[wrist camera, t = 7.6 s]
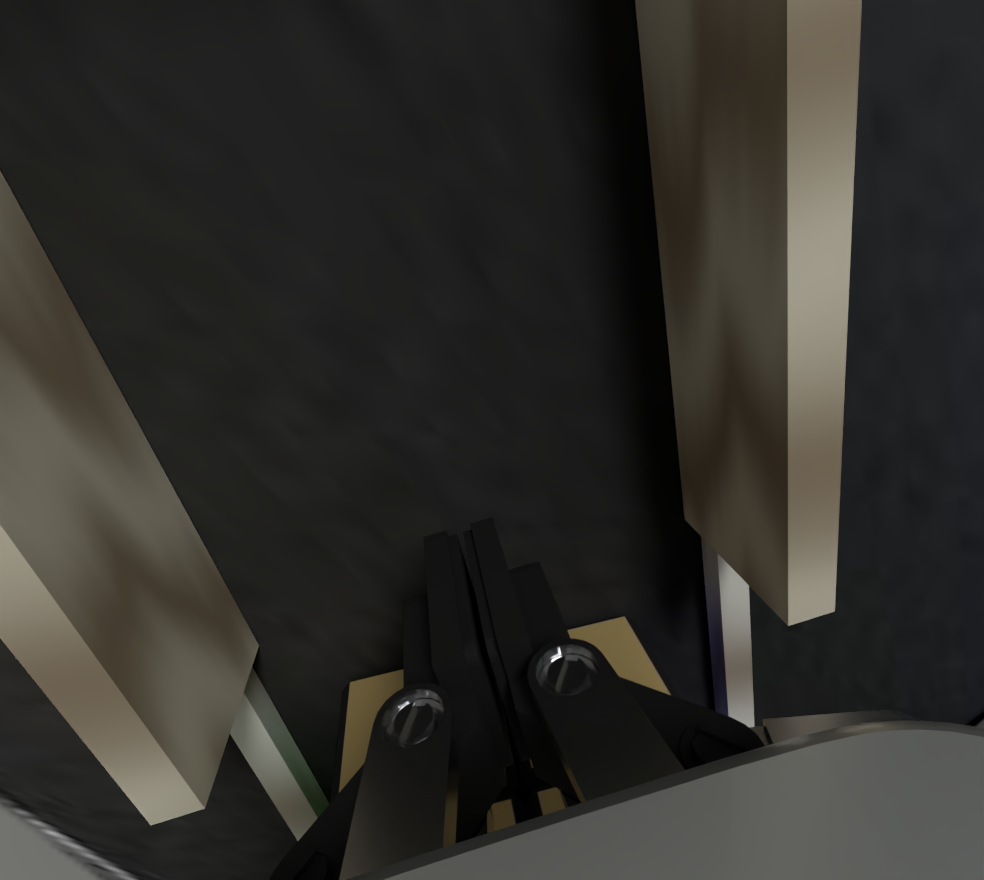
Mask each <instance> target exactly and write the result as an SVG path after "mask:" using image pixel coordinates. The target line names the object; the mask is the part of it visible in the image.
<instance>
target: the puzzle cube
mask: <svg viewBox="0 0 984 880" xmlns="http://www.w3.org/2000/svg"><path fill="white" fill-rule="evenodd" d="M567 631H568V633H569V636H570V638H575V639H580V640H585V641H587V642H589V643H591V644H593V645H595V646H596V647H597V648H598V649H599V650H600V651H601V652H602V653H603V655H604V656H605V657H606V659H607V660H608V662H609V663H610V664H611V666H612V667H613V669H614V670H615V672H616V673H617V674H618V676H619V677H622V678H625V679H628V680H630V681H633V682H636V683H638V684H641V685H644V686H647V687H649V688H652V689H655V690H658V691H660V692H663V693H666V694H669V695H671V696H674V697H677V698H680V696H679V695H678V693H677V691H676V690H675V688H674V686H673V685H672V683H671V681H670V680H669V678H668V676H667V675H666V673H665V671H664V670H663V668H662V666H661V665H660V663H659V662H658V660H657V658H656V657H655V655H654V653H653V652H652V650H651V648H650V647H649V645H648V643H647V642H646V640H645V638H644V637H643V635H642V633H641V632H640V630H639V628H638V627H637V625H636V623H635V622H634V621H633V620H631V619H630V618H628V617H626V616H622V617H618V618H614V619H610V620H606V621H601V622H597V623H593V624H589V625H585V626H581V627H577V628H573V629H569V630H567ZM497 685H498V684H497ZM402 688H403V669H401V670H397V671H393V672H389V673H385V674H381V675H377V676H373V677H369V678H364V679H360V680H356V681H352V682H350V683H349V684H348V685H347V687H346V688H345V689H344V690H343V694H342V702H341V711H340V720H339V728H338V737H337V746H336V755H335V763H334V772H333V781H332V790H331V798H330V803H331V802H332V801H333V799H334V798H335V797H336V796H337V795H338V793H339V792H340V791H341V790H342V789H343V788H344V786H345V785H346V784H347V783H348V782H349V780H350V779H351V778H352V777H353V776H354V775H355V773H356V772H357V771H358V770H359V769H360V767H361V766H362V765H363V764H364V763H365V759H366V754H367V750H368V745H369V740H370V736H371V731H372V727H373V723H374V720H375V717H376V715H377V712H378V711H379V709H380V708H381V706H382V705H383V704H384V702H385V701H386V700H387V699H388V698H389V697H391V696H392V695H393V694H394V693H395V692H397V691H399V690H400V689H402ZM498 689H499V687H498ZM499 694H500V690H499ZM500 699H501V704H502V709H503V714H504V718H505V723H506V728H507V733H508V738H509V743H510V747H511V752H512V757H513V764H512V765H509V766H506V767H504V769H505V774H506V780H507V785H508V786H505V787H503V788H502V790H501V792H500V793H499V795H498V796H497V798H496V800H495V801H494V803H493V805H492V806H491V809H492V812H493V818H494V831H496V830H499V829H502V828H505V827H509V826H512V825H515V824H518V823H521V822H524V821H527V820H530V819H533V818H537V817H540V816H543V815H546V814H549V813H552V812H555V811H558V810H561V809H565V806H564V804H563V801H562V798H561V795H560V791H559V789H558V788H556V787H554V786H552V785H550V784H548V783H547V782H545V781H543V780H541V779H539V778H537V777H536V775H535V772H534V768H533V765H532V762H531V759H528V760H525V761H522V760H521V757H520V754H519V751H518V747H517V744H516V741H515V738H514V735H513V732H512V728H511V725H510V722H509V719H508V716H507V713H506V709H505V706H504V703H503V700H502V697H501V694H500ZM680 699H681V698H680Z"/></svg>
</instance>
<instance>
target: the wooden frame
mask: <svg viewBox="0 0 984 880" xmlns="http://www.w3.org/2000/svg"><path fill="white" fill-rule="evenodd" d="M635 5H636V15H637V25H638V36H639V46H640V57H641V67H642V78H643V88H644V99H645V109H646V120H647V130H648V140H649V151H650V161H651V172H652V182H653V193H654V203H655V214H656V224H657V235H658V245H659V256H660V266H661V276H662V287H663V297H664V308H665V318H666V329H667V339H668V350H669V360H670V371H671V381H672V392H673V402H674V412H675V423H676V433H677V444H678V454H679V465H680V475H681V486H682V496H683V507H684V517H685V520H686V521H687V522H688V523H689V524H690V525H691V526H692V527H693V529H694V530H695V531H696V532H697V533H698V534H699V535H700V536H701V544H702V556H703V568H704V580H705V592H706V604H707V617H708V629H709V641H710V653H711V665H712V677H713V690H714V702H715V712H718V713H721V714H724V715H726V716H729V717H732V718H733V719H735V720H737V721H739V722H741V723H743V724H745V725H746V726H748V727H754V704H753V679H752V654H751V629H750V603H749V586H750V587H751V588H752V589H753V590H754V591H755V592H756V593H757V594H758V595H759V596H760V597H761V598H762V599H763V600H764V601H765V603H766V604H767V605H768V606H769V607H770V608H771V609H772V610H773V611H774V612H775V613H776V614H777V615H778V616H779V617H780V618H781V619H782V620H783V621H784V622H785V623H786V624H787V625H788V626H790V625H793V624H796V623H799V622H802V621H806V620H809V619H812V618H815V617H818V616H822V615H825V614H828V613H831V612H834V611H835V593H836V571H837V548H838V526H839V503H840V481H841V458H842V435H843V413H844V390H845V368H846V345H847V323H848V300H849V277H850V255H851V232H852V210H853V187H854V165H855V142H856V119H857V97H858V74H859V52H860V29H861V7H862V0H635ZM0 638H1V640H2V641H3V642H4V643H5V645H6V646H7V647H8V648H9V650H10V651H11V652H12V653H13V655H14V656H15V657H16V658H17V659H18V661H19V662H20V663H21V664H22V666H23V667H24V668H25V669H26V671H27V672H28V673H29V674H30V676H31V677H32V678H33V679H34V681H35V682H36V683H37V684H38V686H39V687H40V688H41V689H42V691H43V692H44V693H45V694H46V696H47V697H48V698H49V699H50V701H51V702H52V703H53V704H54V706H55V707H56V708H57V709H58V710H59V712H60V713H61V714H62V715H63V717H64V718H65V719H66V720H67V722H68V723H69V724H70V725H71V727H72V728H73V729H74V730H75V732H76V733H77V734H78V735H79V737H80V738H81V739H82V740H83V742H84V743H85V744H86V745H87V747H88V748H89V749H90V750H91V752H92V753H93V754H94V755H95V757H96V758H97V759H98V760H99V761H100V763H101V764H102V765H103V766H104V768H105V769H106V770H107V771H108V773H109V774H110V775H111V776H112V778H113V779H114V780H115V781H116V783H117V784H118V785H119V786H120V788H121V789H122V790H123V791H124V793H125V794H126V795H127V796H128V798H129V799H130V800H131V801H132V803H133V804H134V805H135V806H136V808H137V809H138V810H139V811H140V812H141V814H142V815H143V816H144V817H145V819H146V820H147V821H148V822H149V824H150V825H154V824H157V823H160V822H163V821H167V820H170V819H173V818H176V817H179V816H183V815H186V814H189V813H192V812H195V811H199V810H202V809H205V806H206V803H207V800H208V797H209V794H210V791H211V788H212V785H213V782H214V779H215V776H216V773H217V770H218V767H219V764H220V761H221V758H222V755H223V752H224V749H225V746H226V743H227V740H228V737H229V734H230V735H231V736H232V738H233V739H234V741H235V742H236V744H237V746H238V747H239V749H240V750H241V752H242V754H243V755H244V757H245V758H246V760H247V761H248V763H249V765H250V766H251V768H252V769H253V771H254V773H255V774H256V776H257V777H258V779H259V780H260V782H261V784H262V785H263V787H264V788H265V790H266V792H267V793H268V795H269V796H270V798H271V799H272V801H273V803H274V804H275V806H276V807H277V809H278V811H279V812H280V814H281V815H282V817H283V818H284V820H285V822H286V823H287V825H288V826H289V828H290V830H291V831H292V833H293V834H294V836H295V837H296V839H297V841H299V840H300V838H301V837H302V836H303V835H304V834H305V832H306V831H307V830H308V829H309V828H310V827H311V825H312V824H313V823H314V822H315V821H316V819H317V818H318V817H319V816H320V815H321V814H322V812H323V811H324V810H325V809H326V808H327V806H328V805H329V802H328V800H327V798H326V797H325V795H324V793H323V791H322V789H321V788H320V786H319V784H318V782H317V781H316V779H315V777H314V775H313V773H312V772H311V770H310V768H309V766H308V765H307V763H306V761H305V759H304V758H303V756H302V754H301V752H300V750H299V749H298V747H297V745H296V743H295V742H294V740H293V738H292V736H291V734H290V733H289V731H288V729H287V727H286V726H285V724H284V722H283V720H282V718H281V717H280V715H279V713H278V711H277V710H276V708H275V706H274V704H273V703H272V701H271V699H270V697H269V695H268V694H267V692H266V690H265V688H264V687H263V685H262V683H261V681H260V679H259V678H258V676H257V674H256V672H255V671H254V669H253V667H252V665H253V662H254V659H255V656H256V653H257V650H258V647H259V645H258V643H257V641H256V639H255V637H254V635H253V634H252V632H251V630H250V628H249V626H248V624H247V622H246V621H245V619H244V617H243V615H242V613H241V611H240V610H239V608H238V606H237V604H236V602H235V600H234V599H233V597H232V595H231V593H230V591H229V589H228V588H227V586H226V584H225V582H224V580H223V578H222V577H221V575H220V573H219V571H218V569H217V567H216V566H215V564H214V562H213V560H212V558H211V556H210V555H209V553H208V551H207V549H206V547H205V545H204V544H203V542H202V540H201V538H200V536H199V534H198V533H197V531H196V529H195V527H194V525H193V523H192V521H191V520H190V518H189V516H188V514H187V512H186V510H185V509H184V507H183V505H182V503H181V501H180V499H179V498H178V496H177V494H176V492H175V490H174V488H173V487H172V485H171V483H170V481H169V479H168V477H167V476H166V474H165V472H164V470H163V468H162V466H161V465H160V463H159V461H158V459H157V457H156V455H155V454H154V452H153V450H152V448H151V446H150V444H149V443H148V441H147V439H146V437H145V435H144V433H143V432H142V430H141V428H140V426H139V424H138V422H137V421H136V419H135V417H134V415H133V413H132V411H131V409H130V408H129V406H128V404H127V402H126V400H125V398H124V397H123V395H122V393H121V391H120V389H119V387H118V386H117V384H116V382H115V380H114V378H113V376H112V375H111V373H110V371H109V369H108V367H107V365H106V364H105V362H104V360H103V358H102V356H101V354H100V353H99V351H98V349H97V347H96V345H95V343H94V342H93V340H92V338H91V336H90V334H89V332H88V331H87V329H86V327H85V325H84V323H83V321H82V320H81V318H80V316H79V314H78V312H77V310H76V308H75V307H74V305H73V303H72V301H71V299H70V297H69V296H68V294H67V292H66V290H65V288H64V286H63V285H62V283H61V281H60V279H59V277H58V275H57V274H56V272H55V270H54V268H53V266H52V264H51V263H50V261H49V259H48V257H47V255H46V253H45V252H44V250H43V248H42V246H41V244H40V242H39V241H38V239H37V237H36V235H35V233H34V231H33V230H32V228H31V226H30V224H29V222H28V220H27V219H26V217H25V215H24V213H23V211H22V209H21V207H20V206H19V204H18V202H17V200H16V198H15V196H14V195H13V193H12V191H11V189H10V187H9V185H8V184H7V182H6V180H5V178H4V176H3V174H2V173H1V171H0Z"/></svg>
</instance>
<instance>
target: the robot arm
mask: <svg viewBox="0 0 984 880" xmlns="http://www.w3.org/2000/svg"><path fill="white" fill-rule="evenodd" d="M470 525H471V529H472V530H469V531H465V532H463V534H464V539H465V544H466V549H467V554H468V559H469V564H470V569H471V574H472V579H473V584H474V588H473V585H472V582H471V579H470V576H469V572H468V569H467V566H466V563H465V559H464V556H463V553H462V550H461V546H460V543H459V540H458V537H457V535H456V534H455V535H451V536H448V534H447V531H443V532H440V533H436V534H433V535H429V536H426V537H424V551H425V566H426V581H427V594H426V595H423V596H419V597H416V598H412V599H409V600H406V601H404V606H403V688H402V689H400V690H399V691H397V692H395V693H394V694H393V695H392V696H391V697H389V698H388V699H387V700H386V701H385V702H384V704H383V705H382V706H381V708H380V709H379V711H378V712H377V715H376V717H375V720H374V723H373V727H372V731H371V736H370V740H369V745H368V750H367V754H366V759H365V763H364V764H363V765H362V766H361V767H360V769H359V770H358V771H357V772H356V773H355V775H354V776H353V777H352V778H351V779H350V780H349V782H348V783H347V784H346V785H345V786H344V788H343V789H342V790H341V791H340V792H339V793H338V795H337V796H336V797H335V798H334V799H333V801H332V802H331V803H330V804H329V805H328V806H327V808H326V809H325V810H324V811H323V812H322V814H321V815H320V816H319V817H318V818H317V819H316V821H315V822H314V823H313V824H312V825H311V827H310V828H309V829H308V830H307V831H306V832H305V834H304V835H303V836H302V837H301V838H300V840H299V841H298V842H297V843H296V844H295V845H294V847H293V848H292V849H291V850H290V851H289V852H288V854H287V855H286V856H285V857H284V858H283V860H282V861H281V862H280V864H279V865H278V867H277V868H276V870H275V871H274V872H273V874H272V875H271V877H270V879H269V880H984V718H983V719H982V720H981V721H980V722H979V723H977V724H976V725H975V726H969V725H962V724H955V723H945V722H929V721H920V720H918V719H916V718H915V717H912V716H909V715H906V714H903V713H900V712H897V711H884V710H874V711H861V712H849V713H836V714H824V715H811V716H799V717H786V718H774V719H763V726H760V727H748V726H746V725H745V724H743V723H741V722H739V721H737V720H735V719H733V718H732V717H729V716H726V715H724V714H721V713H718V712H715V711H713V710H710V709H707V708H704V707H702V706H699V705H696V704H693V703H691V702H688V701H685V700H682V699H680V698H677V697H674V696H671V695H669V694H666V693H663V692H660V691H658V690H655V689H652V688H649V687H647V686H644V685H641V684H638V683H636V682H633V681H630V680H628V679H625V678H622V677H619V676H618V674H617V673H616V672H615V670H614V669H613V667H612V666H611V664H610V663H609V662H608V660H607V659H606V657H605V656H604V655H603V653H602V652H601V651H600V650H599V649H598V648H597V647H596V646H595V645H593V644H591V643H589V642H587V641H585V640H580V639H575V638H570V636H569V633H568V631H567V628H566V626H565V623H564V621H563V618H562V616H561V614H560V611H559V609H558V606H557V604H556V601H555V599H554V596H553V594H552V592H551V589H550V587H549V584H548V582H547V579H546V577H545V574H544V572H543V570H542V567H541V565H540V563H539V561H538V562H534V563H531V564H528V565H524V566H521V567H517V568H514V569H511V570H508V567H507V564H506V561H505V558H504V554H503V551H502V548H501V545H500V541H499V538H498V535H497V532H496V529H495V525H494V522H493V519H492V518H488V519H485V520H481V521H478V522H474V523H471V524H470ZM474 589H475V592H474ZM475 594H476V595H475ZM497 684H498V685H497ZM498 687H499V689H498ZM499 690H500V694H501V697H502V700H503V703H504V706H505V709H506V713H507V716H508V719H509V722H510V725H511V728H512V732H513V735H514V738H515V741H516V744H517V747H518V751H519V754H520V757H521V760H522V761H525V760H528V759H531V762H532V765H533V768H534V772H535V775H536V777H537V778H539V779H541V780H543V781H545V782H547V783H548V784H550V785H552V786H554V787H556V788H558V789H559V791H560V795H561V798H562V801H563V804H564V806H565V809H561V810H558V811H555V812H552V813H549V814H546V815H543V816H540V817H537V818H533V819H530V820H527V821H524V822H521V823H518V824H515V825H512V826H509V827H505V828H502V829H499V830H496V831H494V818H493V812H492V809H491V806H492V805H493V803H494V801H495V800H496V798H497V796H498V795H499V793H500V792H501V790H502V788H503V787H505V786H508V785H507V780H506V774H505V769H504V767H506V766H509V765H512V764H513V757H512V752H511V747H510V743H509V738H508V733H507V728H506V723H505V718H504V714H503V709H502V704H501V699H500V694H499Z"/></svg>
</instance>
